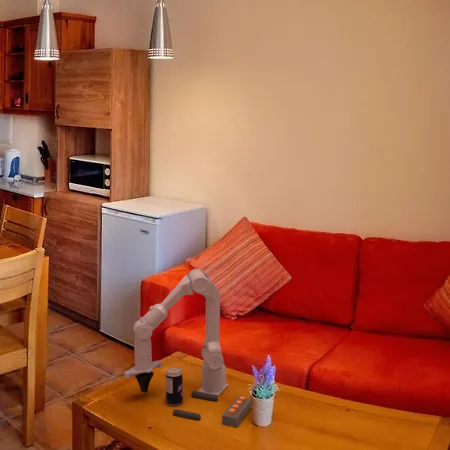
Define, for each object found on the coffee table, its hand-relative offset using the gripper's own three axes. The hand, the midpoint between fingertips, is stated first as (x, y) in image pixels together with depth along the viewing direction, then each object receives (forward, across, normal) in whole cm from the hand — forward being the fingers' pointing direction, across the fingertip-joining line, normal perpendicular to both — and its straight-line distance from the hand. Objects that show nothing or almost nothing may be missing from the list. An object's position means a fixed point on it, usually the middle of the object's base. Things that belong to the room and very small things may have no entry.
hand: (144, 391), depth 214 cm
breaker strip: (+2, +15, -32) cm, 35 cm away
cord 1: (+2, +2, -21) cm, 21 cm away
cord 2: (+2, +15, -15) cm, 21 cm away
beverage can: (+2, +5, -11) cm, 12 cm away
